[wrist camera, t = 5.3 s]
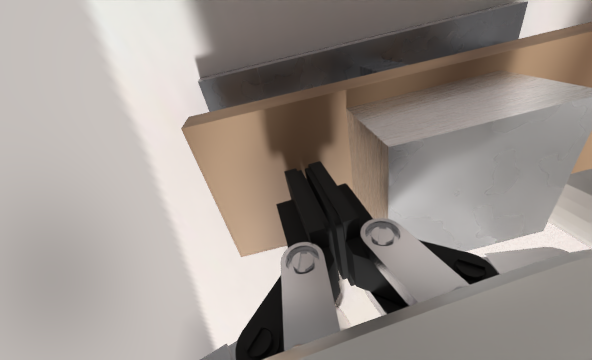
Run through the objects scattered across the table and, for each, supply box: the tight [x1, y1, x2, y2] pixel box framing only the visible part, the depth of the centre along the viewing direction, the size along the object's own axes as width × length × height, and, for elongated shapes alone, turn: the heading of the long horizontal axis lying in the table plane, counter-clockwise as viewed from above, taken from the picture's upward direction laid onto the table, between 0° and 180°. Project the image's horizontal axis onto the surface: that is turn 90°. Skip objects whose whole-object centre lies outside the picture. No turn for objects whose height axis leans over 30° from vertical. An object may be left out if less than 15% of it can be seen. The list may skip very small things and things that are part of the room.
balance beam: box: [181, 22, 592, 257], centre depth 13 cm, size 24×8×2 cm, turn 101°
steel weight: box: [346, 70, 592, 252], centre depth 11 cm, size 7×6×4 cm
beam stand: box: [198, 2, 528, 112], centre depth 17 cm, size 24×9×8 cm, turn 101°
